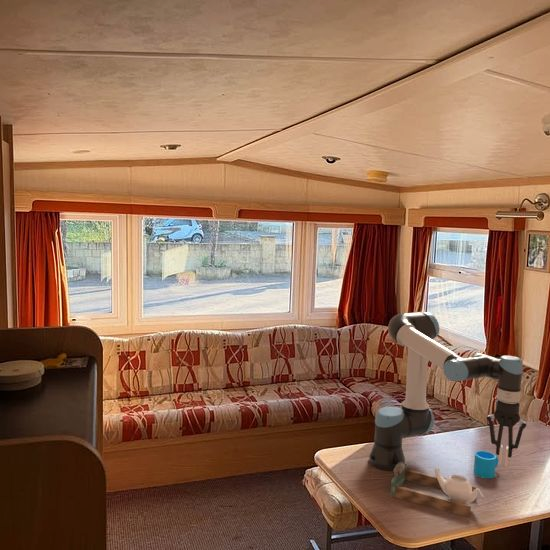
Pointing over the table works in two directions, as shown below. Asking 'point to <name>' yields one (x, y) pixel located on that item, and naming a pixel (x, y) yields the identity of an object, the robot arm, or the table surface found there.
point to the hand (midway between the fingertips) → (503, 464)
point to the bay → (422, 497)
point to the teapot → (458, 488)
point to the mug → (485, 464)
